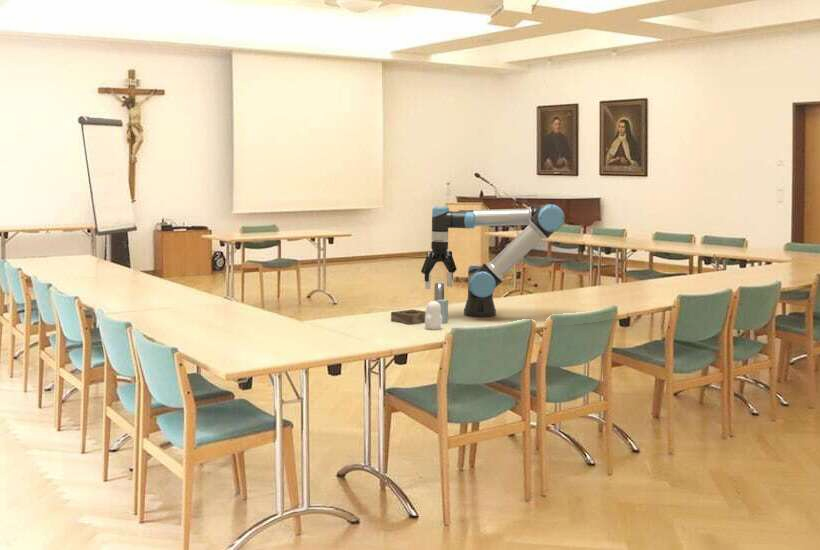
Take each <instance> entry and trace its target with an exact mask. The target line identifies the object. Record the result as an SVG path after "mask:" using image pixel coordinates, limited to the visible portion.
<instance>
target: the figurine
mask: <svg viewBox="0 0 820 550" xmlns="http://www.w3.org/2000/svg"><path fill="white" fill-rule="evenodd" d="M425 312H426V314H425V323H424V328H425V329H426V330H434V331H435V330H440V328H441V326H442V315H441V306H440V304H439V303H438V302H437V301H434V300H431V301H429V302H428V303H427V304H426V308H425Z"/></svg>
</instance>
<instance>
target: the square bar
mask: <svg viewBox="0 0 820 550" xmlns="http://www.w3.org/2000/svg"><path fill="white" fill-rule="evenodd" d="M436 301H437V302H438V303H439V304H440V306H441V315H442V324H443V325H445V324H447V323H448V322H449V300H448V299H444V300H436ZM442 324H441V325H442Z"/></svg>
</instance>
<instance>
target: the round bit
mask: <svg viewBox="0 0 820 550" xmlns="http://www.w3.org/2000/svg"><path fill="white" fill-rule="evenodd" d="M433 287H434V296H433V297H434V299H433V301H436V300H445V283H444V282H436V283H434V286H433Z"/></svg>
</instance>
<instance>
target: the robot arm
mask: <svg viewBox="0 0 820 550" xmlns="http://www.w3.org/2000/svg"><path fill="white" fill-rule="evenodd" d="M564 223H565V213H564V210H562V208H561V207H559V206H558V205H556V204H551V203H546V204H540V205H529V206H528V207H526V208H507V209H505V208H503V209H501V208H500V209H499V208H498V209H470V210H469V209H468V210H467V209H466V210H465V209H459V210H457V211H452V210H450V207H449V206H434V207H433V208H432V213H431V240H432V241H431V243H430V244H431V246H430V249H432V251H427V252H426V257H425V260H424V263H423V264H422V268H421V271H420V273H422V274H423V275H424V283H425V284H424V285H425V287H424V289H426V290H427V289H428V290H431V285H432V282H431V281H432V280H431V279H432V274H430V273H431V272H432V270H433V269H434V267H435V265H436V264H437V263H438V262H439V263H440V262H442V263H443V265H444V267H445V268H446V270H447V272H446V287H450V288H453V279H454V273H455V272H456V271H457V270H458V269H457V266H456V264H455V260H454V257H453V251H451V250H448V249H449V242H448V241H449V229H475V227H494V226H495V227H497V226H499V227H500V226H526V227H525V228H524V229H523V230H522V231H521V232H520V233H519V234H518V235H517V236H516V237H514V239H512V241H510V243H508V245H506V246H505V247H504V248H503V250H502V251H500V253H498V254H497V255H496V256H495V257H494V258H493V259H492V260H491V261H490V262H489V261H488V262H484V263H483V264H482V265H470V266H469V267H468V269H467V270H468V271H467V275H468V276H467V299H466V303H465V306H464V308H463V315H465V316H469V317H475V318H476V317H478V318H485V317H489V318H490V317H494V316H497V309H496V308H495V307H496V305H495V302H494V299H493V298H494V297H493V296H494V292H495V290H496V288H497V287H499V285H501V283H503V282H504V276H505V275H506V274H507V273H509V272H510V270H511V269H513V267H514V266H515V265H517V264H518V263H519V262H520V260H522V259H523V258H524V257H525V256H526V255H527V254H528V253H529V252H530V251H532V249H533V248H534V247H535V246H536V245H537V244H539V243H540V242H541V241H542V240H547V239H548V238H550V237H551V236H552V234H554V233H555V232H557V231H558V230H560V229H561V228H562V227H563V225H564Z"/></svg>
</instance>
